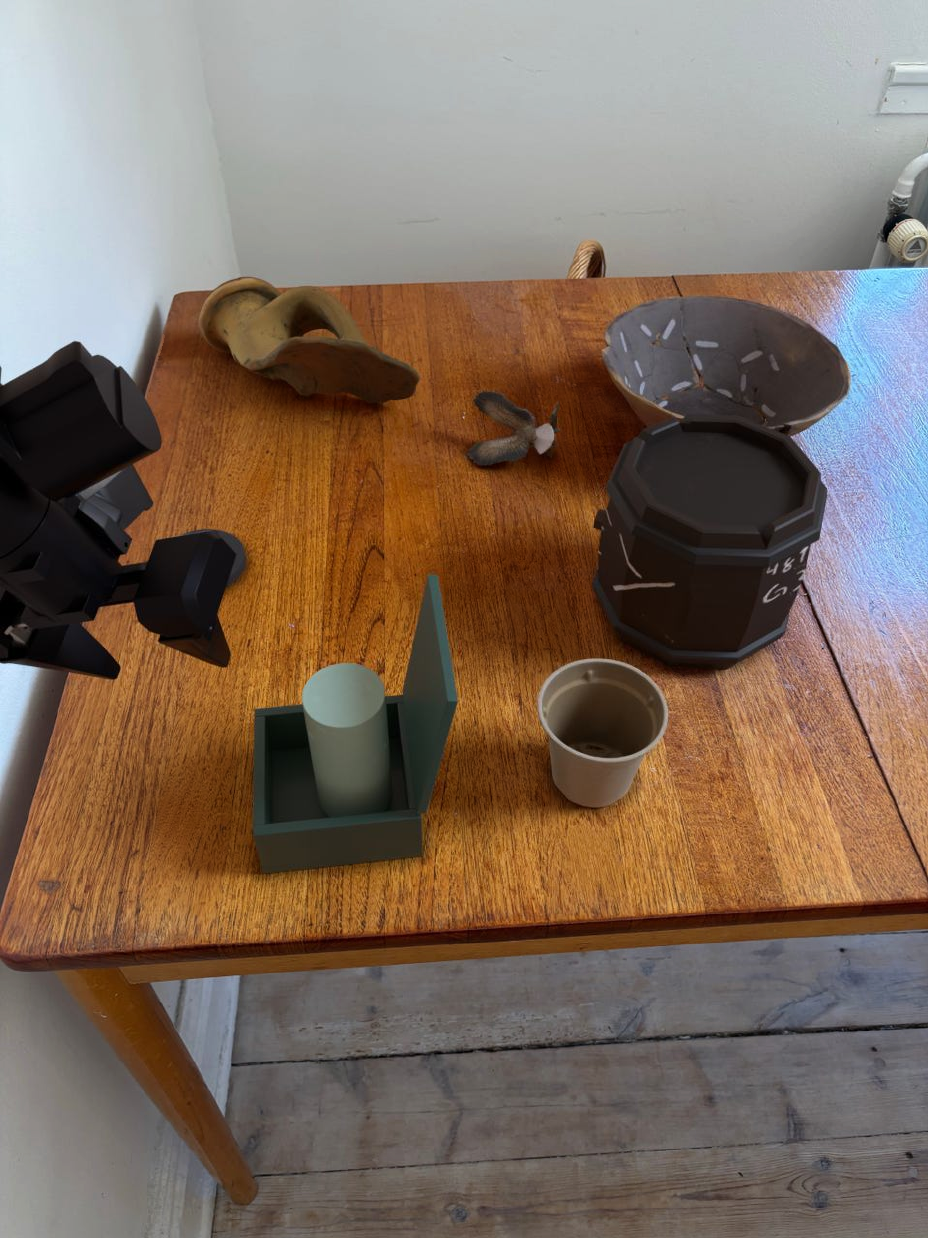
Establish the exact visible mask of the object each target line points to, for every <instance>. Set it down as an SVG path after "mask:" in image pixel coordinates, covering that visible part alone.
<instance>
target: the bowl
mask: <svg viewBox="0 0 928 1238" xmlns="http://www.w3.org/2000/svg"><path fill="white" fill-rule="evenodd" d="M603 339H604V343H605V345H606V346H604V348H602V349H601V357H602V361H603V363H604V365H605V367H606V370H607V372H608V374H609V376H610V378H611V381H613V384H614V385H615V387H616V388H617V389H618V391H619V392H620V393H621V394H622V396H623V397H624V398H625V400H626V402H627V403H628V404H629V406H630V407H631V409H632V411H633V412H634V413H635V415H636V416H637V417H638V418H639V419H640V420H641V421H642V423H643V424H644V425H645V427H646V428H648V427H651V426H653V425H655V424H658V423H660V422H662V421H665V420H667V419H669V418H672V417H674V416H675V417H676V418H677V420H678V421H680V420H681V419H683V418H684V417H685V416H686V415H687V414H708V415H738V416H741V417H743V418H746V419H748V420H750V421H753V422H755V423H758V424H760V425H763V426H765V427H767V428H770V429H772V430H775V431H777V432H780V433H782V434H784V435H787V436H789V437H791V438H792V437H793V436H796V435H798V434H800V433H803V432H804V431H806V430H808V429H809V428H811V427H813V426H814V425H815V424H817V423H818V422H819V421H821V420H822V419H824V418H825V417H826V416H827V415H829V414H830V413H831V412H832V411H833V410H834V409H835V408H837V406H839V405H840V404H841V403H842V402H843V401H844V400H845V399H846V398H847V396H848V395H849V393H850V390H851V383H852V381H851V380H852V378H851V377H852V376H851V375H852V374H851V370H850V367H849V363H848V361H847V360H846V359H845V357H844V355H843V354H842V351H841V350H840V349H839V347H838V345H836V344H835V343H834V342H833V341H832V340H830V338H828V337H827V336H826V335H825V334H824V333H823V332H821V331H820V330H818V329H817V328H815V326H813V325H812V324H810V323H808V322H807V321H805V320H803V319H802V318H800V317H798V316H796V315H794V314H792V313H790V312H786V311H783V310H781V309H779V308H776V307H774V306H770V305H766V304H764V303H762V302H757V301H754V300H750V299H744V298H737V297H728V296H717V295H687V296H686V295H685V296H678V295H676V296H669V297H662V298H656V299H652V300H651V299H650V300H646V301H644V302H641V303H639V304H637V305H634V306H632V307H631V308H628V309H626V310H625V311H623V312H621V313H619V314H617V315H616V316H615V317H614V318H613V319H612V320H611V322H610V323H609V324H608V325H607V326H606V327H605V330H604V331H603ZM701 381H702V382H703V386H701Z"/></svg>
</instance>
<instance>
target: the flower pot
mask: <svg viewBox="0 0 928 1238" xmlns="http://www.w3.org/2000/svg"><path fill="white" fill-rule="evenodd" d="M536 709H537V710H536V711H537V716H538V720H539V723H540V725H541V727H542V729H543V731H544V733H545V734H546V736H547V738H548V747H549V756H550V765H551V766H550V767H551V777H552V780H553V782H554V785H555V786H556V787H557V789H558V790H559V791H560V792H561V793H562V794H563V795H564V796H565V798H566V799H567V800H569V801H571V802H572V803H574V804H577V805H579V806H583V807H586V808H604V807H605V808H606V807H608V806H611V805H612V804H614V803H616V802H617V801H619V800H620V799H622V798H623V797H625V795H626V794H627V793H628V792H629V790H630V788H631V786H632V783H633V782H634V779H635V777H636V775H637V773H638V771H639V769H640V767H641V765H642V762H643V761H644V758H645V756H646V755H647V754H649V752H651V751H652V750H653V749H655V748H656V747H657V745H658V744H659V743H660V741H662V739H663V737H664V735H665V733H666V730H667V726H668V722H669V721H668V720H669V708H668V703H667V700H666V697H665V696H664V693H663V692H662V690H661V689H660V687H659V686H658V685H657V683H656V682H655V681H654V680H653V679H652V678H651V677H650V676H649V675H647V674H646V673H645V672H643V671H642V670H640V669H639V668H637V667H634V666H633V665H631V664H628V663H626V662H623V661H619V660H615V659H610V658H585V659H579V660H575V661H571V662H569V663H566V664H564V665H562V666H560V667H559V668H557V669H556V670H554V671H553V672H552V673H551V674H550V675H548V677H547V678H546V679H545V681H544V682H543V683H542V685H541V687H540V690H539V692H538V696H537V703H536ZM587 747H597V748H599V749H594V748H587Z"/></svg>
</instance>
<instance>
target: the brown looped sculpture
mask: <svg viewBox="0 0 928 1238" xmlns="http://www.w3.org/2000/svg"><path fill="white" fill-rule="evenodd" d="M198 326H199V329H200V333H201V335H202V336H203V339H205V341H206V342H207V343H208V344H209V345H210V346H211V347H212V348H213V349H216V350H218V351H219V352H221V353H222V352H223V353H226V354H231V355H232V358H233V360H234V361H235V363H237V364H238V365H240V366H242V367H244V369H245V368H246V369H247V370H249V371H250V372H251V373H254V374H256V375H258V376H261V377H265V378H269V379H270V380H272V381H281V380H283V381H286V382H287V384H288V385H290V386H291V387H292V388H294V390H295V391H296V392H297V393H298V394H299V395H300V396H302V397H306V398H307V397H311V396H312V395H314V394H330V395H333V394H340V393H341V394H343V393H344V394H349V395H352V396H354V397H357V398H358V399H359V398H360V399H361V400H362V401H365V402H367V403H370V404H383V403H388V402H389V401H403V400H407V399H409V398H411V397H413V396H414V395H415V392H416V390H417V386H418V384H419V382H420V380H421V375H420V373H419V372H418V371H417V370H416V369H415V368H414V366H412V365H411V364H408V363H406V362H405V361H402V360H400V359H398V358H396V357H393V356H391V355H389V354H386V353H384V352H382V351H381V350H378V349H377V348H375V347H374V346H372V345H370V344H368V342H367V341H366V339H365V338H364V336H363V334H362V332H361V329H360V328H359V326H358V323H357V322H356V321H355V319H354V317H353V316H352V314H351V313H350V312H349V310H348V309H347V308H346V306H345V305H344V304H343V303H342V302H341V301H340V300H339V299H338V298H337V297H336V296H334V294H332V293H330V292H329V291H327V290H326V289H324V288H321V287H317V286H313V285H300V286H296V287H293V288H289V289H287V290H286V291H284V292H282V293H281V292H280V291H279V290H278V289H277V288H276V287H275V286H274V285H272V284H271V283H270V282H268V281H266V280H264V279H261V278H258V277H255V276H254V277H253V276H239V277H237V278H232V279H230V280H227V281H225V282H222V283H221V284H219V285H218V286H217V287H215V288H214V289H213V290H212V291H211V292H210V293H209V295H208V296H207V297H206V299H205V300H204V303H203V305H202V308H201V311H200V313H199V318H198ZM317 330H327V331H328V332H330V333H331V334H333V335H334V336H335V337H329V336H321V335H314V336H313V335H311V336H305V335H306V334H307V333H310V332H312V331H317Z"/></svg>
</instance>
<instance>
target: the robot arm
mask: <svg viewBox="0 0 928 1238" xmlns="http://www.w3.org/2000/svg"><path fill="white" fill-rule="evenodd" d="M2 369H3V368H2V366H1V365H0V664H2V665H7V664H10V665H11V664H12V665H19V666H25V667H33V668H39V669H45V670H53V671H58V672H65V673H70V674H76V675H82V676H87V677H93V678H99V679H104V680H109V681H114V680H117V679H118V677H119V675H120V672H121V670H122V668H121V665H120V664H119V662H118V661H117V660H116V658H114V656H113V655H112V653H111V652H110V651H109V650H107V649H106V648H105V646H103V645H102V643H101V642H100V641H99V640H97V638H96V637H94V636H93V635H92V633H90V631H89V630H87V629H86V628H85V627H84V626H83V625H82V623H87V622H94V621H95V619H96V617H97V615H98V614H97V613H98V612H99V609H100V608H104V607H112V606H117V605H126V604H132V603H133V605H134V611H135V615H136V619H137V622H138V623H139V624H140V625H141V626H142V627H143V628H145V629H146V630H147V631H148V632H150V633H152V634H156V635H159V636H158V639H157V642H158V643H159V644H160V645H163V646H166V647H168V648H171V649H173V650H174V651H178V652H180V653H182V654H185V655H188V656H189V657H192V658H193V659H194V658H195V659H197V660H199V661H202V662H204V663H207V664H208V665H209V664H210V665H212V666H215V667H219V668H222V669H224V668H228V666H229V664H230V661H231V657H232V651H231V649H230V647H229V644H228V640H227V638H226V635H225V633H224V632H225V631H224V629H223V627H222V624H221V621H220V618H219V614H218V613H219V611H220V607H221V604H222V601H223V598H224V596H225V592H226V588H227V587H226V586H227V583H228V580H229V577H230V574H231V570H232V567H233V564H234V561H235V558H236V555H237V554H236V553H235V552H234V551H233V549H232V548H231V547H230V546H229V545H228V544H227V543H226V542H225V541H224V539H223V538H222V537H221V536H220V535H219V534H218V533H217V532H216V530H217V529H216V530H209V531H203V532H198V533H192V534H186V535H182V534H181V535H175V536H170V537H163V538H159V539H155V541H154V543H153V546H152V548H151V552H150V554H149V557H148V559H147V561H143V562H136V563H131V564H130V563H129V564H125V565H124V564H123V565H122V563H120V562H119V560H120V558H121V556H124V555H127V554H128V552H129V549H130V547H131V544H132V542H133V537H131V536H130V535H129V534H128V533H127V532H126V529H128V528H129V526H131V524H132V523H134V521H135V520H136V519H137V518H138V517H139V516H141V515H142V513H143V512H146V511H149V510H151V509H152V507H153V506H154V501H153V499H152V496H151V495H150V494H149V492H148V489H147V488H146V486H145V484H144V482H143V480H142V479H141V476H140V475H139V473H138V471H137V468H136V467H135V465H134V464H137V463H138V462H140V461H142V460H144V459H145V458H147V457H149V456H152V455H153V454H155V453H157V452H159V450H160V449H161V448H162V444H163V440H162V434H161V430H160V427H159V424H158V421H157V419H156V417H155V415H154V412H153V410H152V408H151V407H150V405H149V403H148V401H147V399H146V397H145V395H144V393H142V391H141V390H140V388H139V387H138V384H137V383H136V382H135V381H134V380H133V378H132V377H131V376H130V374H129V373H128V372H127V371H126V370H125V368H124V367H123V366H122V365H118V366H117V365H116V364H115V363H113V362H112V361H111V360H110V359H109V358H107V357H106V356H104V355H101V354H95V355H93V354H91V353H90V352H89V350H88V349H87V347H85V346H84V344H83V343H82V341H77V340H73V341H72V342H69V343H68V344H66V345H64V346H62V347H60V348H59V349H57V350H56V351H55V352H53V353H52V354H51V355H50V356H49V357H48V358H47V359H46V360H44V361H43V362H42V363H40V364H38V365H36V366H35V367H33V368H30V369H29V370H27V371H25V372H24V373H22V374H19V375H18V376H17V377H15V378H13V379H11V380H9V381H7V382H5V383H4V384H3V383H2V382H1V380H2Z"/></svg>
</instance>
